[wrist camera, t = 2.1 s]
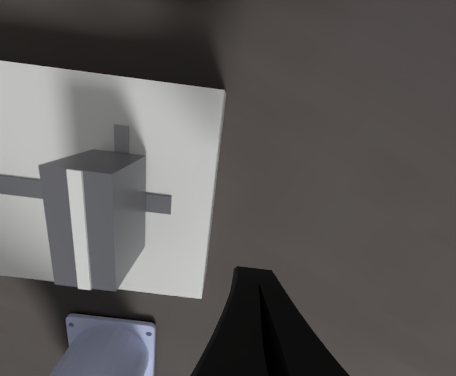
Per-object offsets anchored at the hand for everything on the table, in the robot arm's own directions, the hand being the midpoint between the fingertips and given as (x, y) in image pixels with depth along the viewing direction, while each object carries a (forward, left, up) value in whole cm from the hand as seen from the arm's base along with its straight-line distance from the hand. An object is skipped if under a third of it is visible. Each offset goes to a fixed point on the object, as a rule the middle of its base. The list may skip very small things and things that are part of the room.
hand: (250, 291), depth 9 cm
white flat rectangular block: (0, +15, -10) cm, 17 cm away
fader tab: (0, +8, -6) cm, 10 cm away
